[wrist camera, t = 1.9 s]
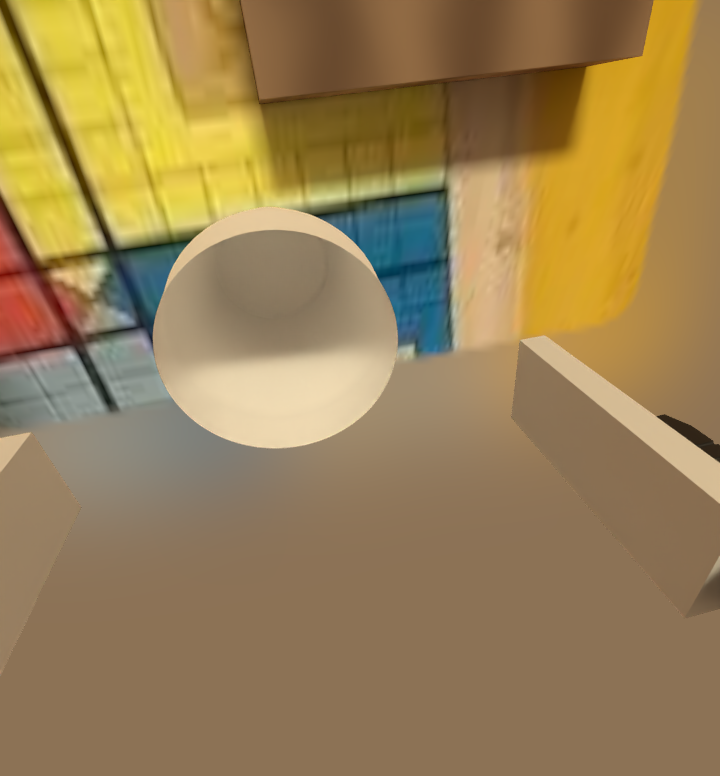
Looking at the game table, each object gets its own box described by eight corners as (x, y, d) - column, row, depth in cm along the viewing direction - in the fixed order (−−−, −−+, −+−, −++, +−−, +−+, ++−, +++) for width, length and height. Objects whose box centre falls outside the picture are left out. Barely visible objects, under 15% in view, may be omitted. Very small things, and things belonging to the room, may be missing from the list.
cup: (338, 338, 29) (380, 450, 19) (196, 330, 27) (159, 453, 16) (356, 194, 24) (426, 240, 14) (189, 170, 22) (131, 205, 12)
